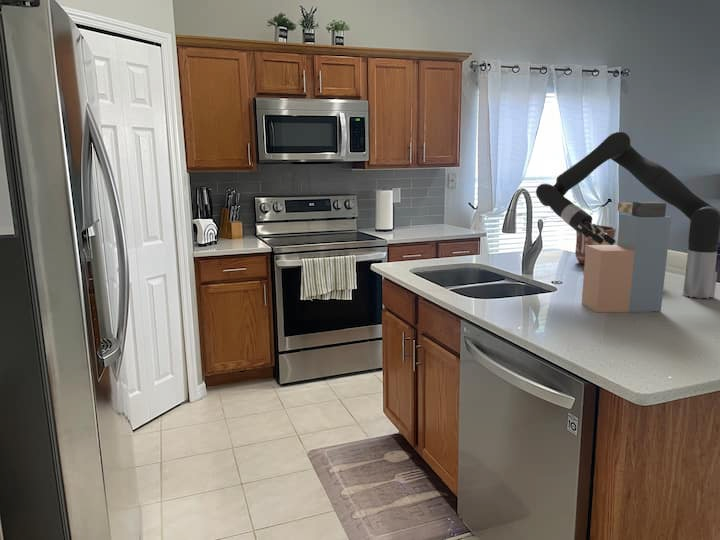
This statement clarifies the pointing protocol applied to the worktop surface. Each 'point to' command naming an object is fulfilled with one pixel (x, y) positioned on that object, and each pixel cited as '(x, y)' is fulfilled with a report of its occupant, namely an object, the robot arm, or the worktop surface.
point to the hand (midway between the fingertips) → (608, 242)
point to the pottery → (589, 243)
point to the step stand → (628, 267)
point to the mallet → (643, 208)
